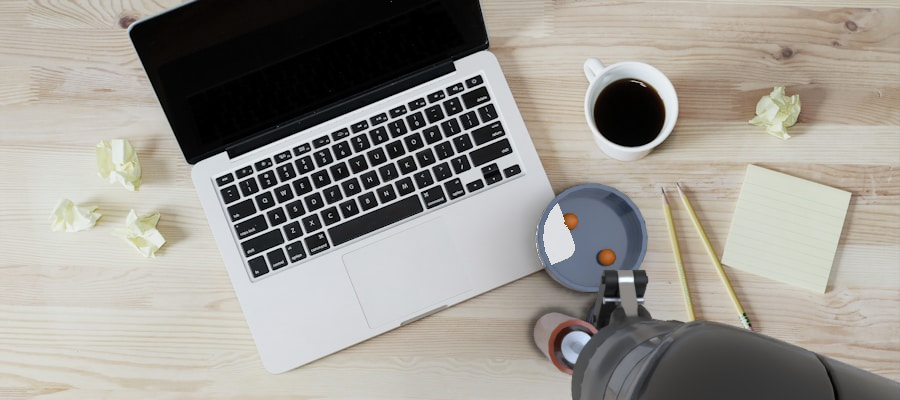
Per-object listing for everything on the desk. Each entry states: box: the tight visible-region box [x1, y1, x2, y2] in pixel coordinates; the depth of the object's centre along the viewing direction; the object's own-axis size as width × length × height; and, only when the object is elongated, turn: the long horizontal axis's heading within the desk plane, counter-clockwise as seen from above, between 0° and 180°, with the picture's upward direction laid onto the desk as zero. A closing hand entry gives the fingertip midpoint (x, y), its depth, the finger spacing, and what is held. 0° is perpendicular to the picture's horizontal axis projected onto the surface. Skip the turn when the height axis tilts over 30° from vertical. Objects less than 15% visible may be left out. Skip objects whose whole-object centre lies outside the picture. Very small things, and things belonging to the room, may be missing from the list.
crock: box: [533, 312, 598, 376], centre depth 77 cm, size 5×5×20 cm
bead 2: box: [598, 249, 616, 266], centre depth 86 cm, size 2×2×2 cm
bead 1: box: [563, 213, 578, 230], centre depth 87 cm, size 2×2×2 cm
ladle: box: [560, 330, 591, 364], centre depth 57 cm, size 3×3×20 cm
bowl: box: [536, 183, 649, 293], centre depth 86 cm, size 12×12×5 cm
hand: (602, 363), depth 52 cm, fingers closed on ladle, 1 cm apart
